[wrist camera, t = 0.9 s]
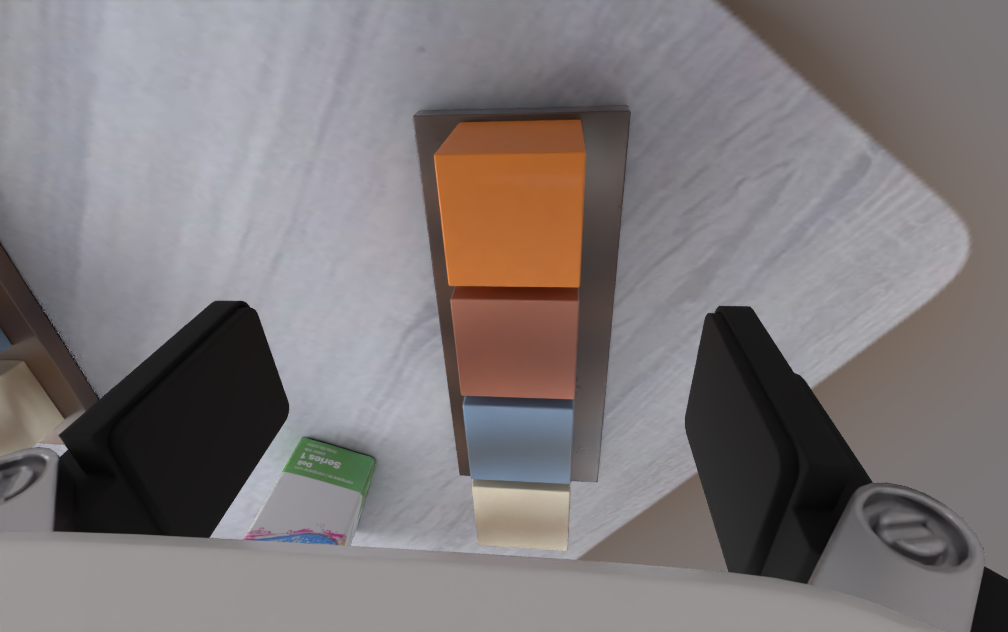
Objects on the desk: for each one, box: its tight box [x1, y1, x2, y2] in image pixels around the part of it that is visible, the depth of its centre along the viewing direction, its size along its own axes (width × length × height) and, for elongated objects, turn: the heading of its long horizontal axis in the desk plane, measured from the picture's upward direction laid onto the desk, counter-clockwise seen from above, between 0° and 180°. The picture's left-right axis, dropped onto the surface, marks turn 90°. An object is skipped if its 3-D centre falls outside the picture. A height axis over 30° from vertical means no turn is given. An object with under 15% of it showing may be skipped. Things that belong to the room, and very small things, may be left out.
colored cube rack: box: [413, 106, 631, 551], centre depth 22 cm, size 20×8×6 cm, turn 2°
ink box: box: [243, 438, 376, 546], centre depth 28 cm, size 8×5×12 cm, turn 161°
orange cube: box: [434, 120, 586, 287], centre depth 18 cm, size 4×4×4 cm
